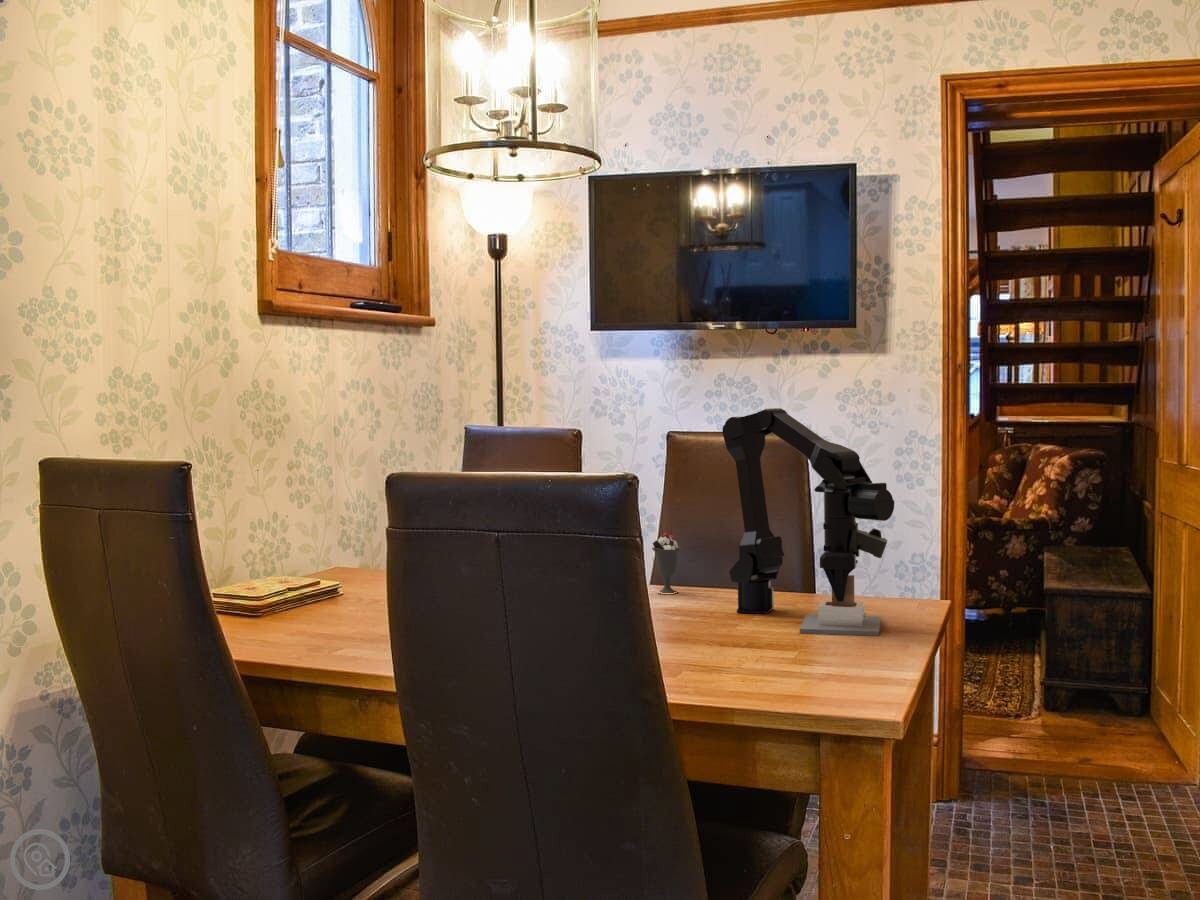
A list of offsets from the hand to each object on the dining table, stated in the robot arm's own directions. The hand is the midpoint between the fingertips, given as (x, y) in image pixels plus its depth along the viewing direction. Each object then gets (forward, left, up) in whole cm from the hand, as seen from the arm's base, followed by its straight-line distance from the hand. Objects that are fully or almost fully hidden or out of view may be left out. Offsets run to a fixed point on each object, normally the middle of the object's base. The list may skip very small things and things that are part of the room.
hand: (840, 600), depth 206 cm
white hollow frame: (0, 0, -5) cm, 5 cm away
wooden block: (0, 0, -2) cm, 2 cm away
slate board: (0, 0, -5) cm, 5 cm away
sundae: (-40, +31, -5) cm, 51 cm away
